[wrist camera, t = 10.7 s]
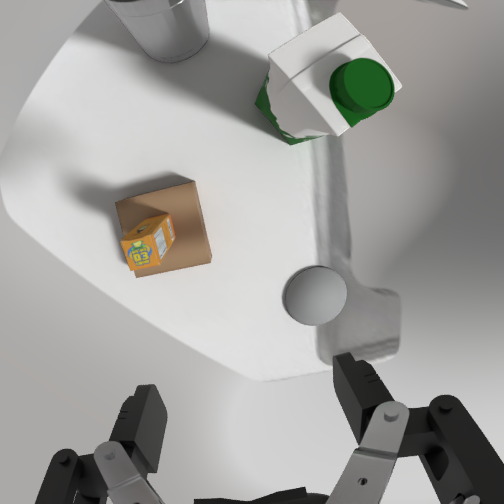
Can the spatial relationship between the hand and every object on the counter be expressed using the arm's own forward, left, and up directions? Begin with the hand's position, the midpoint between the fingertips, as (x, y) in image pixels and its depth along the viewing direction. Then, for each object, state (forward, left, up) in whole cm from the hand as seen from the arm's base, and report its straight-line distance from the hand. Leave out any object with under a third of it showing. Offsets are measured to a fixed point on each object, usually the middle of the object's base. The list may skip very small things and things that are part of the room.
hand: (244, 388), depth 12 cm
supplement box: (-4, -8, -26) cm, 27 cm away
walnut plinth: (-3, -9, -29) cm, 30 cm away
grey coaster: (+11, +9, -29) cm, 32 cm away
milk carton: (-15, +10, -29) cm, 34 cm away
